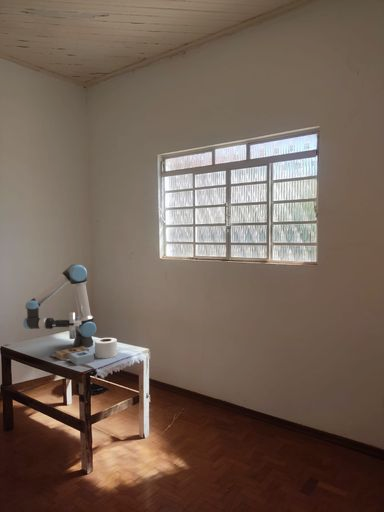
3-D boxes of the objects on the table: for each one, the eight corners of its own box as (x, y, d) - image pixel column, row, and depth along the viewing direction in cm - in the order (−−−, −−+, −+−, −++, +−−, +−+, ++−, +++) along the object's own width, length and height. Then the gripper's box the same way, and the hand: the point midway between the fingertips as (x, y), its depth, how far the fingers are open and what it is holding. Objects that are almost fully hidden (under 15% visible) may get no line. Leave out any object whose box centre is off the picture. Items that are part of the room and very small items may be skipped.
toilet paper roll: (90, 355, 262) (90, 340, 262) (108, 350, 274) (108, 336, 274) (103, 359, 252) (103, 344, 252) (121, 354, 264) (121, 339, 263)
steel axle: (74, 337, 260) (73, 311, 260) (76, 338, 257) (75, 312, 256) (68, 338, 258) (68, 312, 257) (70, 339, 255) (70, 313, 254)
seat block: (86, 357, 258) (86, 350, 258) (94, 361, 249) (93, 354, 248) (69, 361, 250) (69, 353, 250) (77, 365, 241) (76, 357, 241)
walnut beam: (83, 351, 272) (82, 346, 272) (88, 354, 264) (88, 349, 264) (55, 357, 259) (55, 351, 259) (61, 360, 251) (61, 354, 251)
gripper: (51, 325, 266) (83, 325, 266) (41, 331, 249) (75, 331, 249) (51, 315, 266) (83, 315, 265) (41, 320, 249) (75, 320, 248)
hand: (79, 323), depth 257 cm, fingers closed on steel axle, 4 cm apart
